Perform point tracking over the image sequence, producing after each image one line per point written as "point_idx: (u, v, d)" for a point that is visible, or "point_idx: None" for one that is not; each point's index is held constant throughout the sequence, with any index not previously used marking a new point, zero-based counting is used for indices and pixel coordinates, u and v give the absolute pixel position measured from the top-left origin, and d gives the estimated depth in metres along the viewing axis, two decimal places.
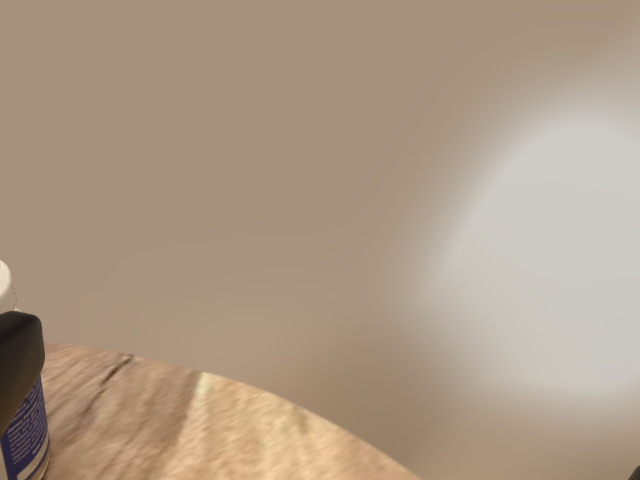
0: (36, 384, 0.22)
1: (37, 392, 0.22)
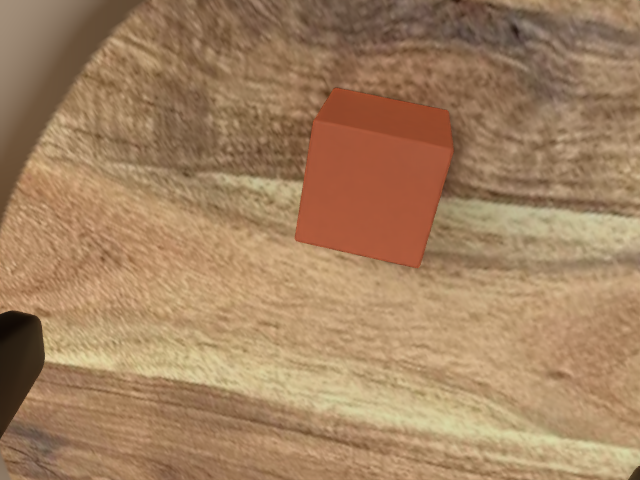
0: None
1: None
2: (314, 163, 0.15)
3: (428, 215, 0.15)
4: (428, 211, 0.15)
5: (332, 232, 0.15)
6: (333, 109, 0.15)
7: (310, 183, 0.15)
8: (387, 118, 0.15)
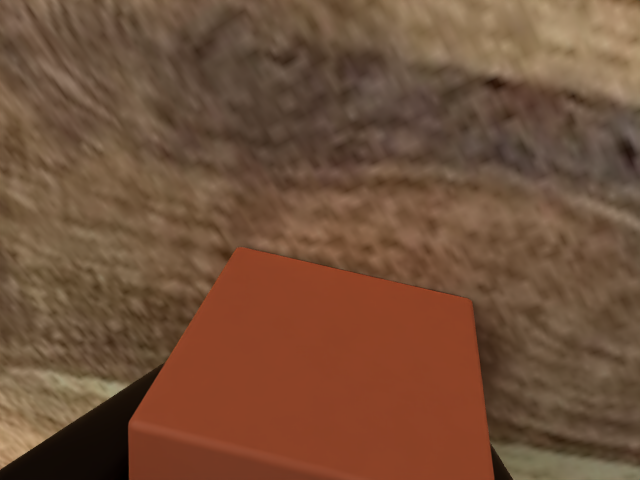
0: None
1: None
2: None
3: None
4: None
5: None
6: (203, 350, 0.06)
7: None
8: (332, 371, 0.06)
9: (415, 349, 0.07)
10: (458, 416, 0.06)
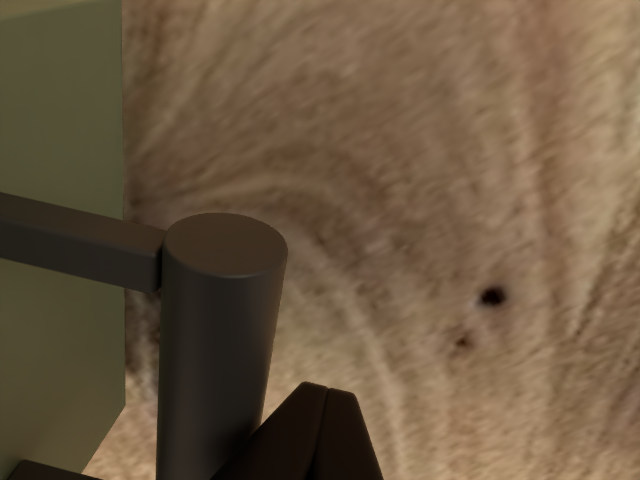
0: None
1: None
2: None
3: None
4: None
5: None
6: None
7: None
8: None
9: None
10: None
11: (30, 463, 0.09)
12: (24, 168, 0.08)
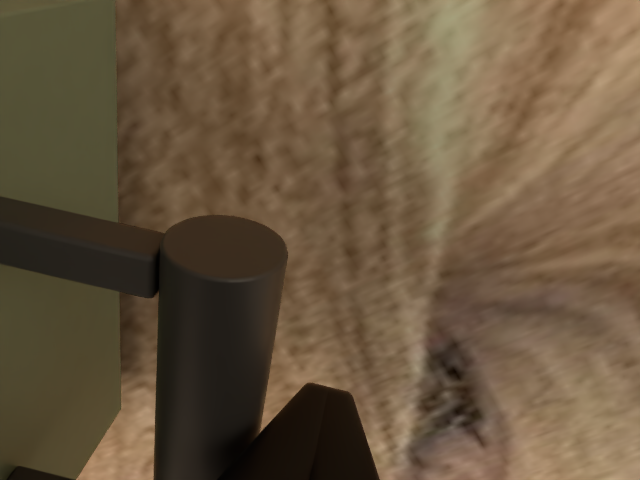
0: None
1: None
2: None
3: None
4: None
5: None
6: None
7: None
8: None
9: None
10: None
11: (25, 470, 0.09)
12: (17, 171, 0.07)
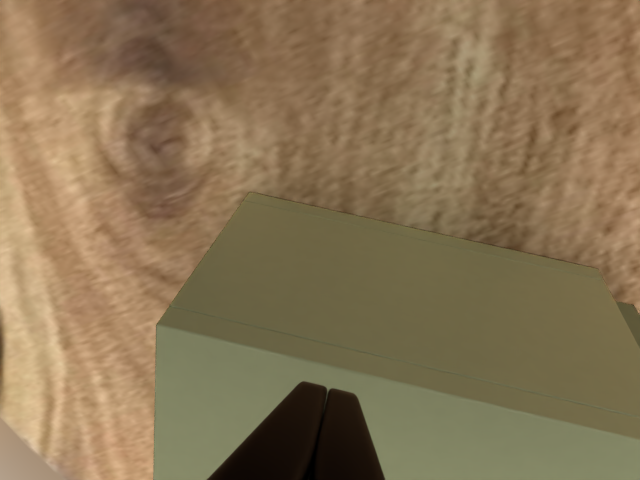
0: None
1: None
2: None
3: None
4: None
5: None
6: None
7: None
8: None
9: None
10: None
11: None
12: None
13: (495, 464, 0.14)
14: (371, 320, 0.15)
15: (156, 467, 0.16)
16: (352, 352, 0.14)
